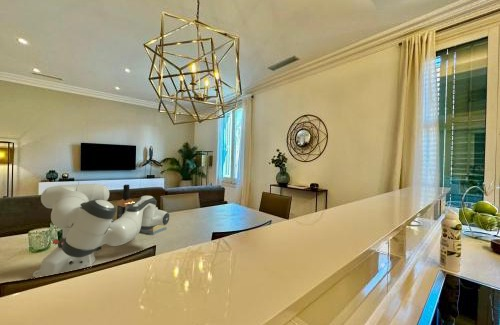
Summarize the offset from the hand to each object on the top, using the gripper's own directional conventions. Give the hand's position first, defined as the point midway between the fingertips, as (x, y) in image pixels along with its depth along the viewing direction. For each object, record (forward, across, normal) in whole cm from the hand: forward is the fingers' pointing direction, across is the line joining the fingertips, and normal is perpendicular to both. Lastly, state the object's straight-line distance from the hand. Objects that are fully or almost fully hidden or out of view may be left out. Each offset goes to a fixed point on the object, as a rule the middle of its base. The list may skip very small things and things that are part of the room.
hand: (130, 212), depth 137 cm
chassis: (-2, +17, -17) cm, 24 cm away
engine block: (-1, 0, -6) cm, 6 cm away
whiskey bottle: (+17, +10, -17) cm, 26 cm away
